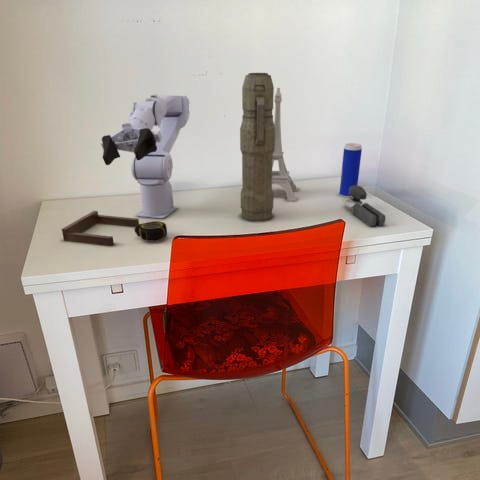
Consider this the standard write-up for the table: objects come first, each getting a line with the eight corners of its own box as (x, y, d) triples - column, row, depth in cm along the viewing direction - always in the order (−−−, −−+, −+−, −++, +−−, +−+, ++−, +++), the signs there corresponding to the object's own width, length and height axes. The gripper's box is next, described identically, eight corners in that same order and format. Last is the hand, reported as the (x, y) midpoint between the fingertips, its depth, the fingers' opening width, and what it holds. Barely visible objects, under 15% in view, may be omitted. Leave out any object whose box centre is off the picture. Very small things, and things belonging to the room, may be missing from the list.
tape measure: (161, 232, 120) (159, 217, 118) (172, 240, 115) (170, 225, 113) (135, 237, 117) (133, 223, 115) (145, 246, 112) (143, 231, 110)
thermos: (246, 225, 124) (245, 75, 105) (236, 211, 133) (234, 72, 115) (278, 222, 125) (283, 74, 107) (266, 208, 135) (269, 71, 117)
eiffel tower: (256, 187, 154) (257, 85, 138) (297, 188, 152) (302, 85, 137) (251, 199, 143) (252, 90, 127) (295, 201, 141) (301, 90, 125)
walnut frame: (95, 221, 127) (93, 210, 126) (139, 225, 124) (138, 214, 122) (63, 240, 116) (61, 229, 114) (111, 246, 112) (109, 234, 111)
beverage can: (343, 192, 148) (348, 142, 140) (358, 195, 145) (365, 144, 138) (336, 196, 145) (341, 145, 137) (351, 199, 142) (357, 147, 134)
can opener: (339, 205, 137) (341, 183, 133) (355, 204, 138) (357, 182, 134) (368, 228, 121) (371, 203, 118) (386, 226, 122) (390, 202, 119)
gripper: (103, 118, 112) (84, 146, 103) (159, 108, 109) (144, 136, 100) (115, 146, 117) (97, 175, 108) (169, 137, 114) (156, 166, 105)
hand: (121, 158), depth 104 cm, fingers open, 7 cm apart
